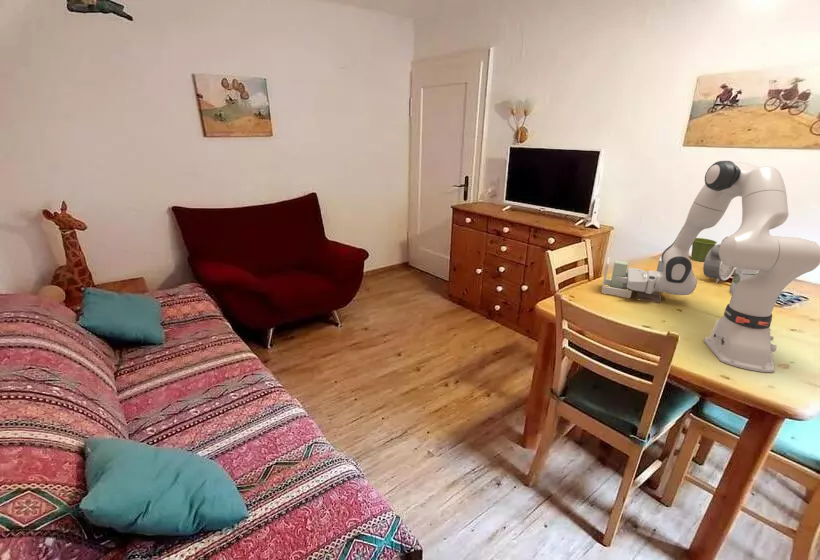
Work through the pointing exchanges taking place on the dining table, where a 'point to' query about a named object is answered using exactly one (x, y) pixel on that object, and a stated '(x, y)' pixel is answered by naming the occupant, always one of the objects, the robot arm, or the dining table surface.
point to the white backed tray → (614, 290)
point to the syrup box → (741, 276)
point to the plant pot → (701, 248)
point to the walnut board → (649, 296)
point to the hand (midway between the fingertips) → (615, 275)
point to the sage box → (618, 273)
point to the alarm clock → (716, 265)
